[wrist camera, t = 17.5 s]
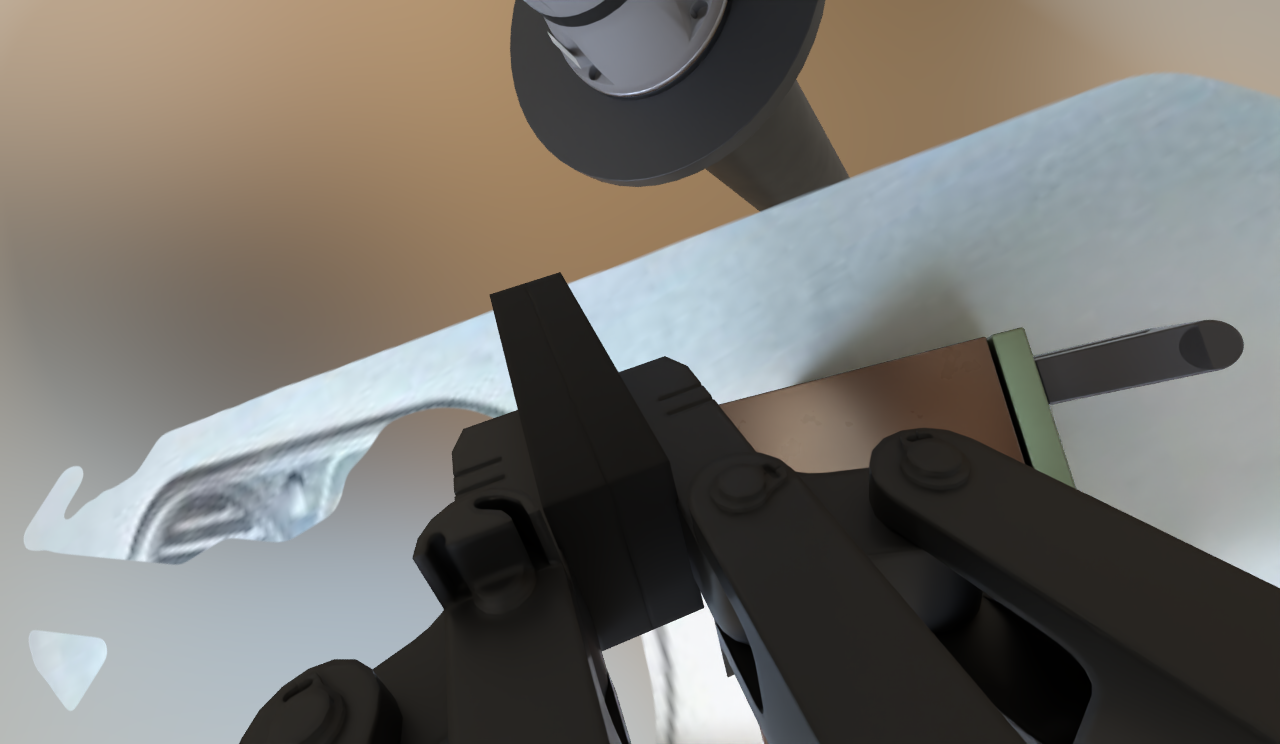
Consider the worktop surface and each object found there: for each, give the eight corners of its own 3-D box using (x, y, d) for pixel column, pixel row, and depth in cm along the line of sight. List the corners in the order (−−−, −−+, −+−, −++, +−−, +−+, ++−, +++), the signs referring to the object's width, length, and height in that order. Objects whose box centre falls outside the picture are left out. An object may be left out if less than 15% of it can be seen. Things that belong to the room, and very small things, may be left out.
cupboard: (969, 347, 37) (985, 336, 21) (1052, 618, 36) (1145, 849, 19) (786, 392, 43) (680, 414, 26) (850, 630, 41) (782, 818, 24)
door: (1092, 315, 34) (1225, 274, 18) (1191, 610, 33) (1443, 869, 16) (972, 346, 37) (991, 335, 21) (1057, 618, 35) (1153, 846, 19)
